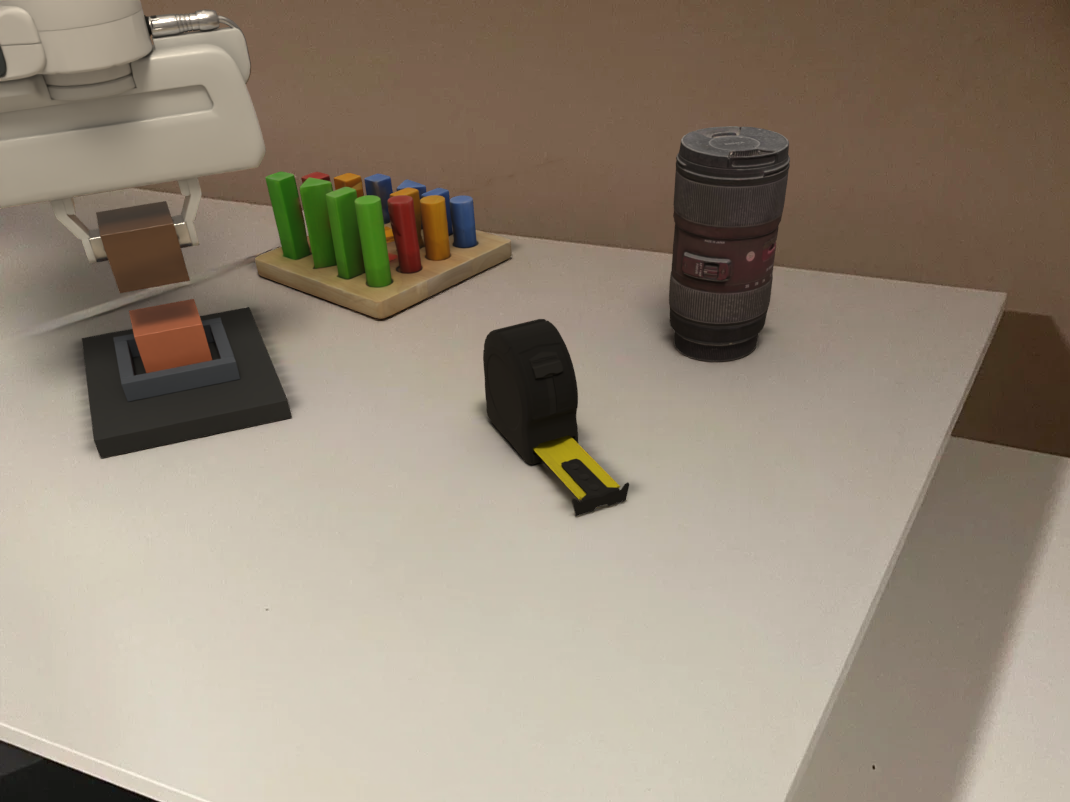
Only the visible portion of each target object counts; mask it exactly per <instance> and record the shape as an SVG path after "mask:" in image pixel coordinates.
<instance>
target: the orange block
mask: <svg viewBox="0 0 1070 802" xmlns="http://www.w3.org/2000/svg"><path fill="white" fill-rule="evenodd" d="M128 314H129V318H130V325H131V329H133V334H134V338H135V341H136V344H137V347H138V350H139V353H140V356H141V359H142V362H143V365H144V368H145V371H146V373H150V372H155V371H160V370H165V369H170V368H175V367H181V366H186V365H191V364H196V363H201V362H206V361H211V360H212V356H211V353H210V349H209V346H208V342H207V339H206V335H205V332H204V328H203V325H202V322H201V318H200V316H201V315H200V313H199V309H198V307H197V303H196V300H195V298H190V299H183V300H178V301H174V302H167V303H163V304H157V305H152V306H145V307H141V308H135V309H130V310H128Z"/></svg>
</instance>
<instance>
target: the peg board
mask: <svg viewBox="0 0 1070 802" xmlns="http://www.w3.org/2000/svg"><path fill="white" fill-rule="evenodd" d="M264 179H265V182H266V187H267V191H268V196H269V201H270V204H271V208H272V213H273V216H274V220H275V225H276V229H277V234H278V238H279V242H280V246H279V247H277V248H274V249H272V250H269V251H266V252H265V253H261V254H260V255H257V256H255V258H254V262H255V266H256V270H257V274H258V275H259V276H260V277H262V278H264V279H268V280H271V281H274V282H276V283H279V284H280V285H285V286H287V287H290V288H292V289H296V290H298V291H300V292H304V293H306V294H308V295H312V296H314V297H317V298H320V299H322V300H325V301H328V302H331V303H333V304H336V305H339V306H342V307H345V308H346V309H347V308H348V309H350V310H352V311H355V312H357V313H361V314H363V315H367V316H369V317H372V318H375V319H386V318H388V317H391V316H393V315H395V314H397V313H400V312H402V311H403V310H405V309H407V308H409V307H411V306H413V305H416V304H418V303H420V302H422V301H424V300H426V299H428V298H430V297H432V296H433V295H436V294H438V293H440V292H442V291H444V290H446V289H448V288H450V287H453V286H455V285H457V284H459V283H460V282H463V281H464V280H466V279H468V278H471V277H473V276H475V275H477V274H479V273H481V272H483V271H486V270H488V269H489V268H492V267H494V266H496V265H498V264H500V263H503V262H504V261H506V260H509V259H510V258H511V257H512V255H513V254H512V252H513V251H512V240H511V239H509V238H507V237H503V236H500V235H496V234H493V233H489V232H486V231H482V230H480V229H479V230H478V229H476V218H475V207H474V198H473V197H472V196H470V195H464V194H463V195H461V194H460V195H456V196H452V197H451V198H450V190H449V189H446V188H443V187H436V188H433V189H431V190H429V191H428V190H427V185H425V184H422V183H419V182H418V181H414V180H410V179H408V178H407V179H405V180H403V181H402V182H401V183H400V184H399V185H398V186H397V187H396V191H393V184H392V183H393V182H392V178H391V176H390V175H387V174H383V173H374V174H372V175H369V176H366V177H364V181H363V179H362V176H361V175H359V174H356V173H353V172H346V173H342V174H340V175H337V176H334V177H333V183H332V181H331V177H330V175H329V174H328V173H324V172H320V171H314V172H310V173H308V174H305V175H302V176H301V177H300V180H301V183H302V184H300V186H299V189H298V185H297V181H296V177H295V174H294V173H290V172H286V171H281V170H280V171H277V172H274V173H272V174H269V175H267V176H265V178H264ZM363 182H364V183H363ZM333 184H334V188H333ZM364 187H365V193H364ZM334 189H335V190H334ZM365 194H366V195H365ZM307 234H308V235H307Z"/></svg>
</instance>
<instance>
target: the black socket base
mask: <svg viewBox="0 0 1070 802" xmlns="http://www.w3.org/2000/svg"><path fill="white" fill-rule="evenodd" d="M200 318H201V322H202V325H203V328H204V332H205V335H206V339H207V342H208V346H209V349H210V353H211V356H212V360H211V361H206V362H201V363H196V364H191V365H186V366H181V367H175V368H170V369H165V370H160V371H155V372H150V373H146V371H145V368H144V365H143V362H142V359H141V356H140V353H139V350H138V347H137V344H136V341H135V338H134V334H133V329H132V328H129V329H123V330H118V331H112V332H107V333H102V334H97V335H96V334H95V335H92V336H91V335H90V336H86V337H81V346H82V354H83V361H84V362H83V363H84V369H85V371H84V372H85V378H86V379H85V380H86V387H87V395H88V403H89V404H88V405H89V413H90V420H91V421H90V422H91V429H92V436H93V443H94V445H95V447H96V449H97V452H98V455H99V457H100V458H101V459H106V458H110V457H114V456H119V455H123V454H124V455H125V454H128V453H133V452H137V451H142V450H147V449H152V448H156V447H161V446H162V447H163V446H166V445H170V444H176V443H180V442H181V443H182V442H185V441H189V440H190V441H191V440H194V439H199V438H204V437H208V436H213V435H218V434H222V433H226V432H232V431H237V430H241V429H246V428H250V427H255V426H260V425H261V426H262V425H264V424H269V423H274V422H279V421H283V420H289V419H292V413H291V409H290V405H289V400H288V398H287V396H286V393H285V391H284V388H283V386H282V383H281V381H280V378H279V376H278V374H277V371H276V368H275V366H274V364H273V361H272V359H271V357H270V354H269V352H268V349H267V347H266V344H265V342H264V340H263V337H262V335H261V332H260V330H259V327H258V325H257V322H256V320H255V317H254V315H253V313H252V310H251V308H250V306H246V307H241V308H236V309H230V310H226V311H220V312H219V311H218V312H214V313H209V314H203V315H200Z"/></svg>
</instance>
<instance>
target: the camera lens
mask: <svg viewBox="0 0 1070 802" xmlns="http://www.w3.org/2000/svg"><path fill="white" fill-rule="evenodd" d="M789 149H790V141H789V139H788V138H787V137H786V136H784V134H782V133H779V132H777V131H773V130H769V129H765V128H761V127H754V126H737V125H730V126H729V125H727V126H712V127H705V128H699V129H697V130H692V131H689V132H687V133H686V134H684V135H683V136H682V137H681V139H680V145H679V150H678V153H677V154H676V156H675V172H674V174H675V175H674V189H673V191H674V192H673V204H672V205H673V215H672V216H673V222H674V231H673V243H672V256H671V257H672V258H671V271H670V274H669V275H670V276H669V285H668V286H669V288H668V290H669V291H668V307H669V325H670V327H671V329H672V330H673V343H674V344H673V345H674V347H675V349H676V350H677V351H678V352H679V353H680V354H682V355H683V356H686V357H687V358H691V359H694V360H698V361H703V362H717V363H718V362H719V363H720V362H730V361H734V360H738V359H740V358H744V357H746V356H748V355H750V354H751V353H752V352H753V351H754V350H755V349H756V347H757V345H758V339H759V334H760V333H761V332H762V330H763V329H764V327H765V325H766V319H767V315H768V310H769V307H770V303H771V296H772V288H773V279H774V277H773V274H774V265H775V258H776V250H777V239H778V234H779V226H780V224H781V222H782V217H783V213H784V208H785V203H786V202H785V201H786V195H787V187H788V181H789V171H790V167H791V166H790V162H791V157H790V155H789V151H790V150H789Z"/></svg>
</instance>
